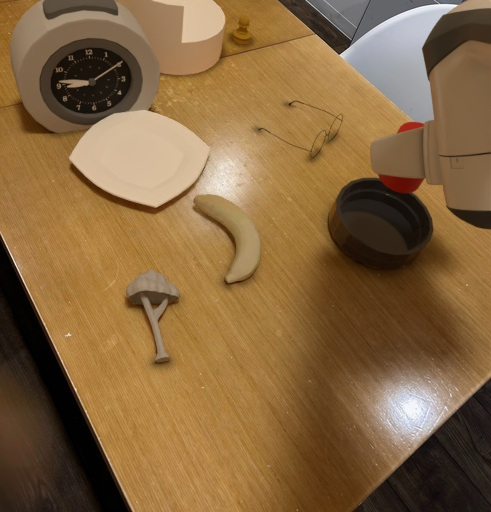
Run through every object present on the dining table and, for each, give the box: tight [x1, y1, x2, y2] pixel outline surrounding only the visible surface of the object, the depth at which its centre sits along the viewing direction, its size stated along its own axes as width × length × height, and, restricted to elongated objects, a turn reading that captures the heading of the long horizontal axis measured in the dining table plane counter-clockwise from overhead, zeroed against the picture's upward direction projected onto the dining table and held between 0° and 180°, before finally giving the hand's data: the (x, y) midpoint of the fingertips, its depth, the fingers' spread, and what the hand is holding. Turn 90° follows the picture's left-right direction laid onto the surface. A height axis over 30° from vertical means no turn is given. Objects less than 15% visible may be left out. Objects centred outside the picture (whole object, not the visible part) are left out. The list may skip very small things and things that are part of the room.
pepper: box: [377, 121, 426, 193], centre depth 64 cm, size 6×6×9 cm
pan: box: [328, 177, 435, 271], centre depth 77 cm, size 15×15×4 cm
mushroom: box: [125, 269, 181, 363], centre depth 62 cm, size 7×5×12 cm
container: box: [118, 0, 226, 76], centre depth 94 cm, size 20×20×13 cm
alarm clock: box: [9, 0, 161, 134], centre depth 76 cm, size 21×8×20 cm, turn 113°
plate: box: [68, 110, 212, 209], centre depth 78 cm, size 19×19×2 cm
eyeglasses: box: [257, 100, 344, 159], centre depth 88 cm, size 11×13×5 cm
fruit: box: [193, 193, 262, 284], centre depth 72 cm, size 7×15×3 cm, turn 22°
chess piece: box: [231, 15, 252, 46], centre depth 103 cm, size 4×4×5 cm
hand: (410, 148), depth 64 cm, fingers closed on pepper, 6 cm apart
